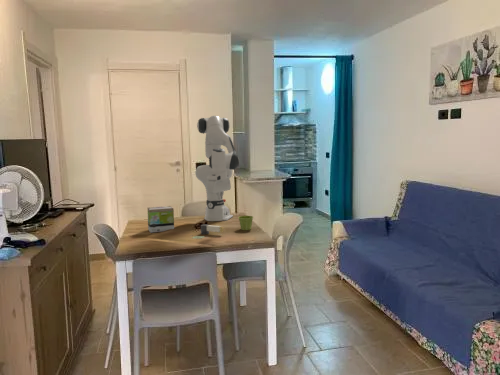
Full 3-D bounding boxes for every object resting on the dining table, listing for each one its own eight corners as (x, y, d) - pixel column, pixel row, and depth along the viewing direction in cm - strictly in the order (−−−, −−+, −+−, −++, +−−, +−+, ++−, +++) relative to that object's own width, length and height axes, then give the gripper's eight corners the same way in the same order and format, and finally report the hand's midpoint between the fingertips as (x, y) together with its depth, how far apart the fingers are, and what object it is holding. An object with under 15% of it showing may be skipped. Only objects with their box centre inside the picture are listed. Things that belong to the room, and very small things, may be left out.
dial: (199, 229, 254) (199, 227, 254) (233, 232, 243) (233, 230, 243) (175, 238, 232) (175, 236, 232) (211, 242, 221) (211, 240, 221)
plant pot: (236, 229, 250) (236, 216, 249) (251, 228, 253) (250, 215, 252) (240, 233, 242) (240, 219, 241) (255, 231, 244) (255, 217, 243)
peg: (199, 234, 237) (199, 225, 236) (203, 232, 241) (203, 224, 240) (220, 236, 230) (220, 227, 229) (225, 234, 234) (225, 226, 233)
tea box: (150, 233, 247) (149, 209, 245) (148, 230, 256) (146, 207, 254) (174, 230, 252) (173, 207, 251) (171, 227, 262) (170, 205, 260)
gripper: (224, 174, 247) (224, 196, 249) (205, 177, 229) (206, 201, 231) (232, 174, 244) (233, 197, 246) (214, 177, 226) (215, 202, 228)
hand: (220, 199), depth 238 cm, fingers closed
